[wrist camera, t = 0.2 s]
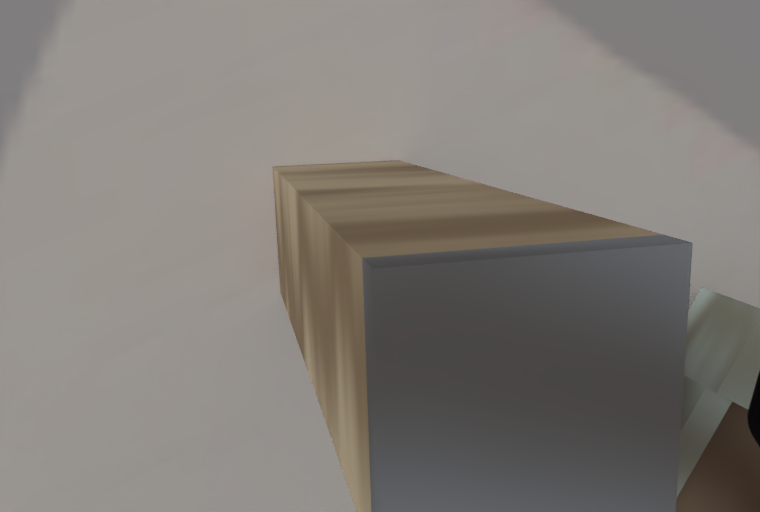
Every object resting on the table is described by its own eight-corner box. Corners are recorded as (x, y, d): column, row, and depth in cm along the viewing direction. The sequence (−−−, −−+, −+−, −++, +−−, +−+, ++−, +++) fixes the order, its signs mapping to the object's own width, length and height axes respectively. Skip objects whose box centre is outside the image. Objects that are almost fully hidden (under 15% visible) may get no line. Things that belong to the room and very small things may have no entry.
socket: (751, 633, 30) (824, 706, 26) (480, 529, 26) (523, 597, 22) (892, 397, 29) (988, 439, 25) (634, 252, 25) (705, 276, 22)
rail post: (402, 282, 23) (673, 535, 10) (280, 292, 23) (384, 587, 9) (399, 160, 23) (692, 242, 9) (272, 166, 22) (371, 268, 8)
